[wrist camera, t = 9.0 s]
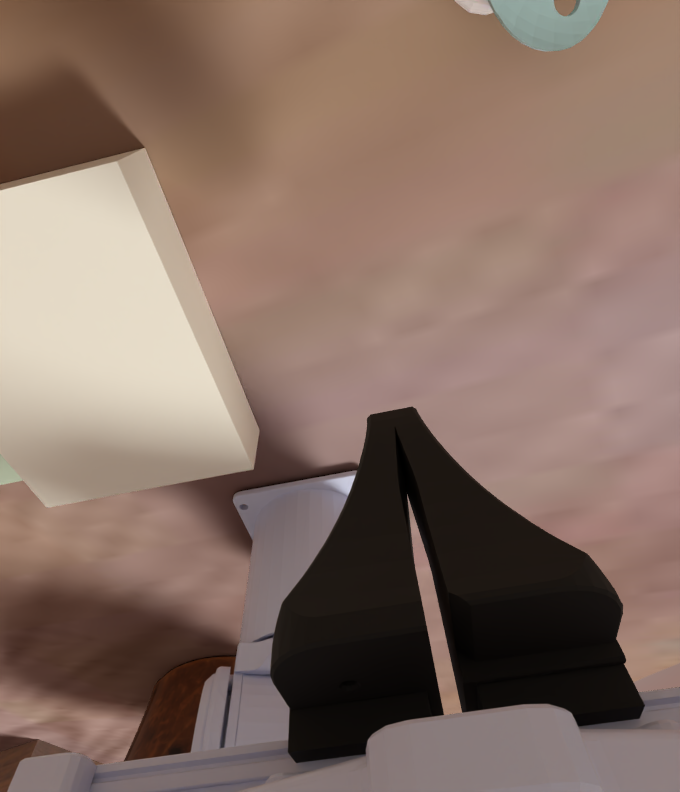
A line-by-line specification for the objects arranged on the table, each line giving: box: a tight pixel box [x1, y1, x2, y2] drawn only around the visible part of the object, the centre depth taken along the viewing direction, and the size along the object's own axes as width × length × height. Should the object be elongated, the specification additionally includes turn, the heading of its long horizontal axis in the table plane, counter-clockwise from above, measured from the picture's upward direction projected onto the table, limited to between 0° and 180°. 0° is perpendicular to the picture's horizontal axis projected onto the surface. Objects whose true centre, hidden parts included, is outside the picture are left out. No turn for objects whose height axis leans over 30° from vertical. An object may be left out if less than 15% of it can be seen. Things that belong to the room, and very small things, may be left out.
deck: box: [0, 148, 260, 508], centre depth 21 cm, size 14×11×3 cm
